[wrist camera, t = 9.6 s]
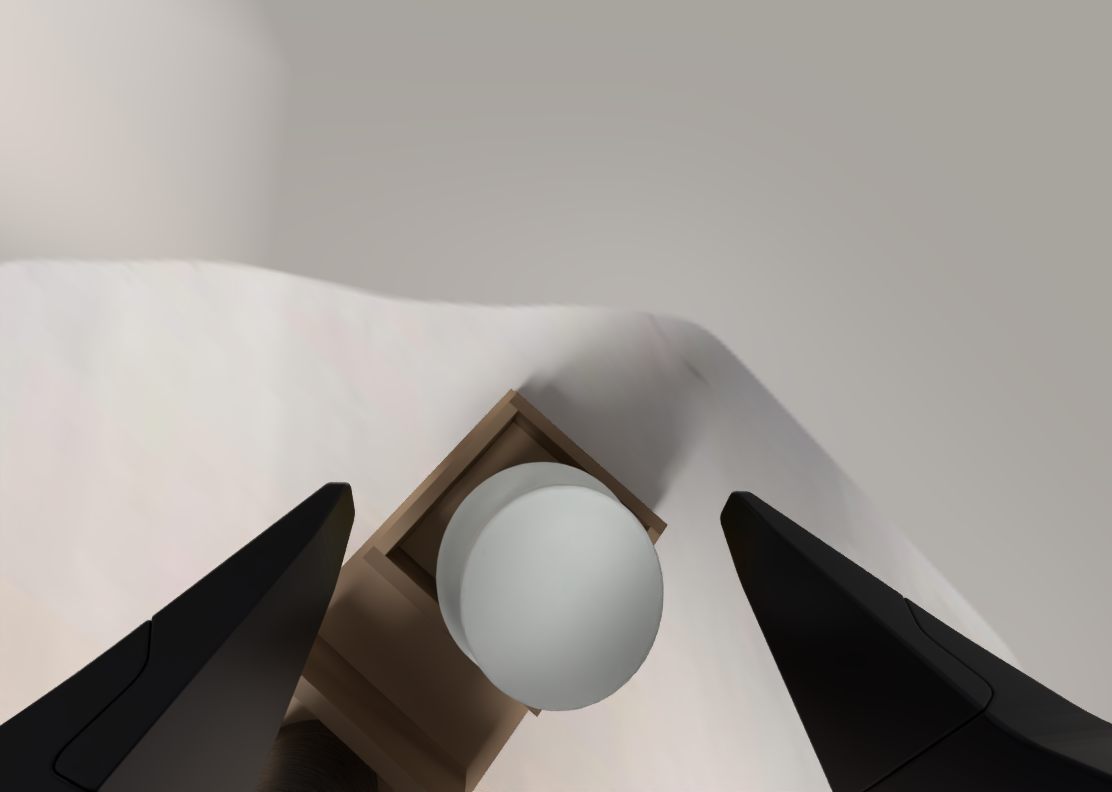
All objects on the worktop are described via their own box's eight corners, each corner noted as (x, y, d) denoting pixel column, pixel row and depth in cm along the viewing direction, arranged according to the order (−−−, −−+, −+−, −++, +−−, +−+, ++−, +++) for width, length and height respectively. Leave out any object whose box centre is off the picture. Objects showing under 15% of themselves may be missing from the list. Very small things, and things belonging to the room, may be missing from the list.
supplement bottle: (426, 565, 16) (349, 659, 7) (499, 450, 17) (518, 398, 8) (541, 635, 16) (621, 823, 7) (603, 514, 17) (735, 533, 8)
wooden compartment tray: (509, 396, 20) (515, 372, 16) (646, 518, 19) (687, 523, 16) (112, 817, 14) (-33, 943, 10) (305, 1002, 13) (234, 1205, 9)
